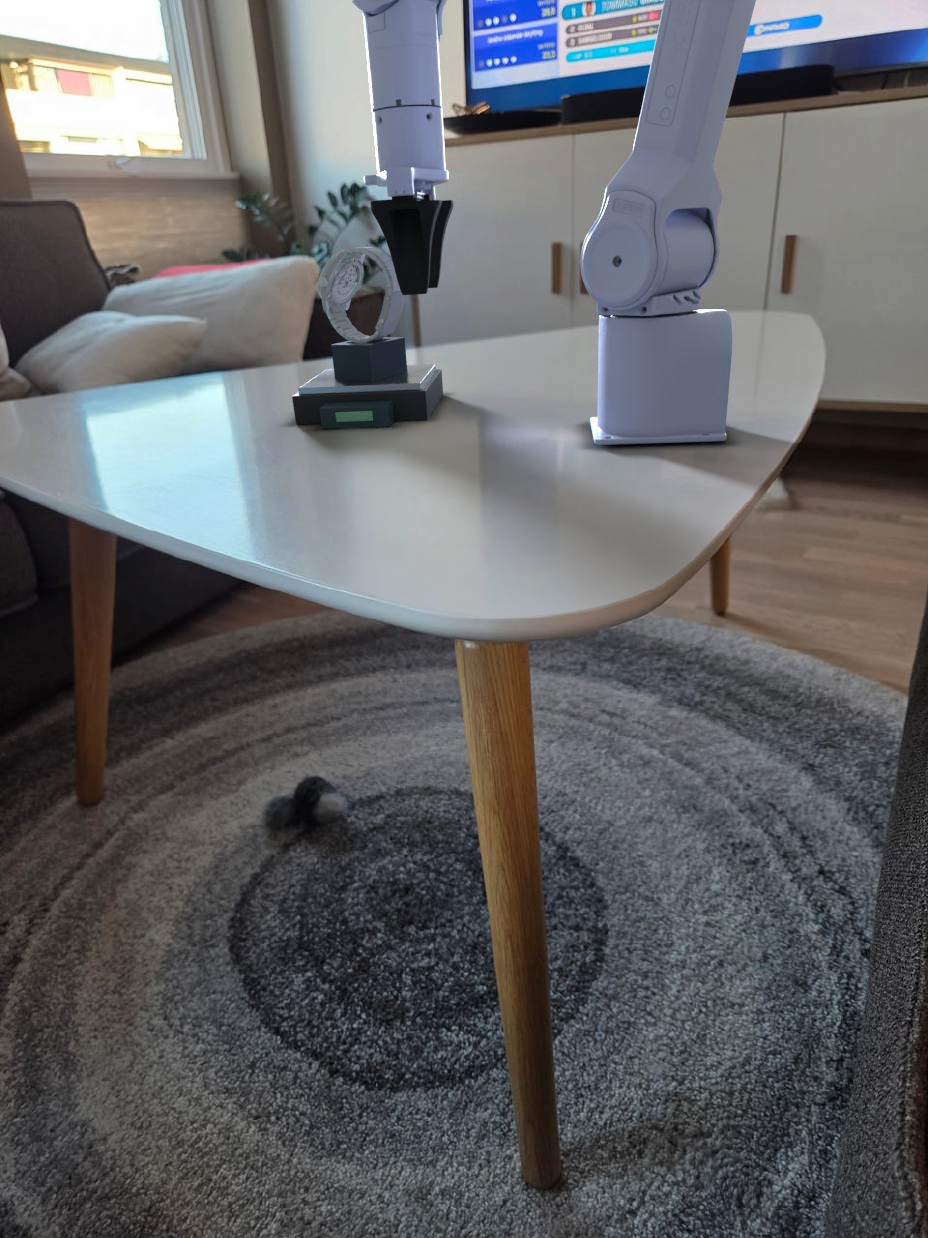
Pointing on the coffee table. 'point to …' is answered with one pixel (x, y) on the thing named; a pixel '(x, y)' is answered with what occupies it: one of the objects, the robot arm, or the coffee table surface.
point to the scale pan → (400, 382)
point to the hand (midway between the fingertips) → (420, 291)
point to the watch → (361, 352)
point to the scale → (368, 406)
